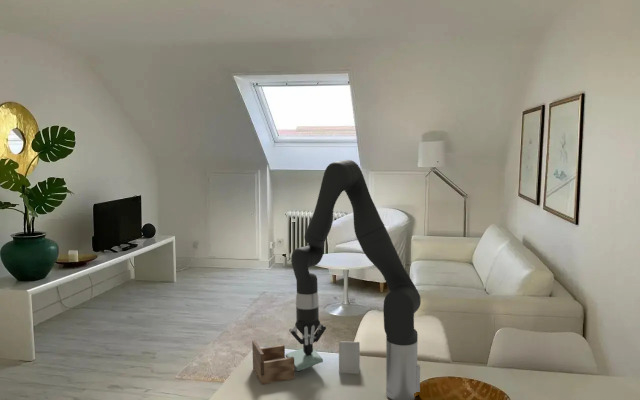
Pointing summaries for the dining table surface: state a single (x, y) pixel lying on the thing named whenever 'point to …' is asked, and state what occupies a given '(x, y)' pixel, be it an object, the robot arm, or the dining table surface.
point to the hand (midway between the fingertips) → (308, 354)
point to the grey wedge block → (349, 357)
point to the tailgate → (304, 359)
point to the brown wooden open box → (272, 364)
